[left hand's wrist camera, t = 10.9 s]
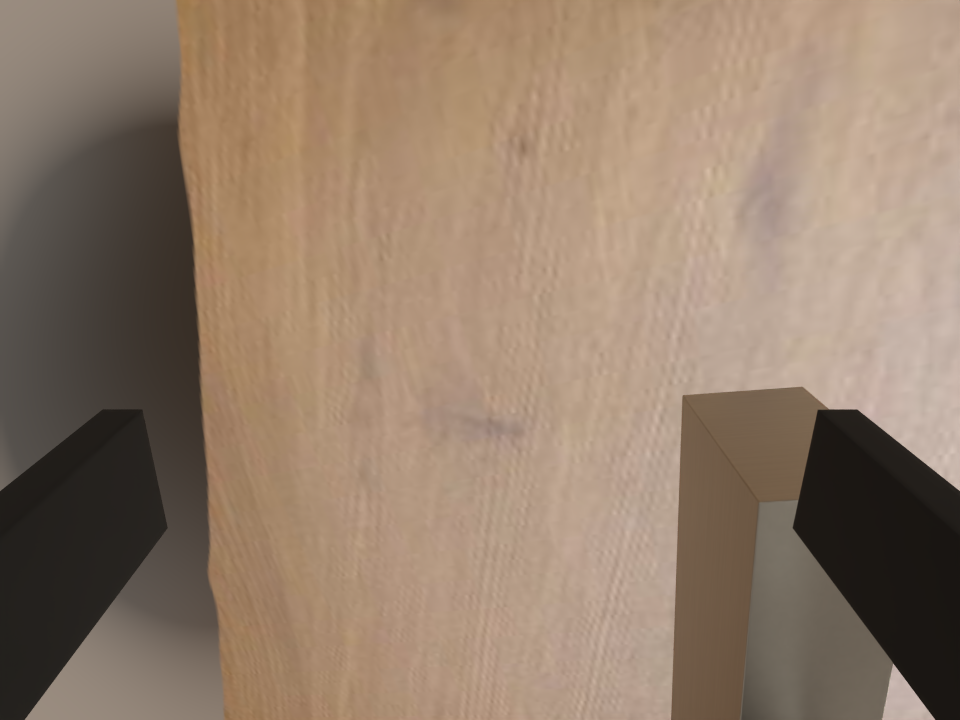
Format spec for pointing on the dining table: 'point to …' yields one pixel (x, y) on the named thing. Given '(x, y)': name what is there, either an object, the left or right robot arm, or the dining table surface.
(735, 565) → the bar
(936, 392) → the dining table surface
